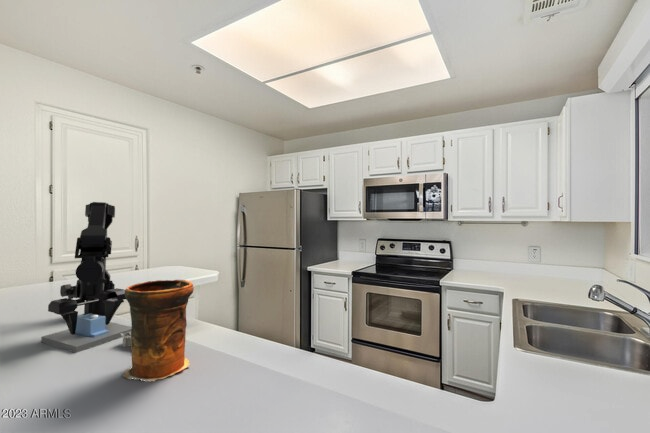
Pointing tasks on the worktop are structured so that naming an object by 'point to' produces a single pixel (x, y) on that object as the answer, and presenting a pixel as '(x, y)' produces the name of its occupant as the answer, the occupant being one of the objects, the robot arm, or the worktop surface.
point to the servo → (91, 325)
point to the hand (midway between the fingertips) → (90, 329)
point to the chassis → (84, 338)
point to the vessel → (158, 328)
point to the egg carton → (126, 339)
